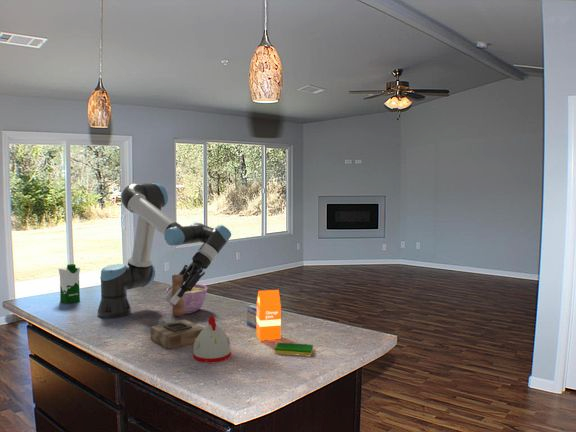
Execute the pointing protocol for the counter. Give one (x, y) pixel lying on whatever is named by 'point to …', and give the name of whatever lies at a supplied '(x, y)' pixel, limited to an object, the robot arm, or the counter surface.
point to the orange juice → (268, 315)
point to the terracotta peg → (176, 284)
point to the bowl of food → (193, 298)
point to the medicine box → (252, 315)
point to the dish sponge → (294, 348)
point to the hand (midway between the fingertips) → (169, 301)
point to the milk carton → (69, 284)
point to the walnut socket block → (175, 333)
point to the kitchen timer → (211, 344)
